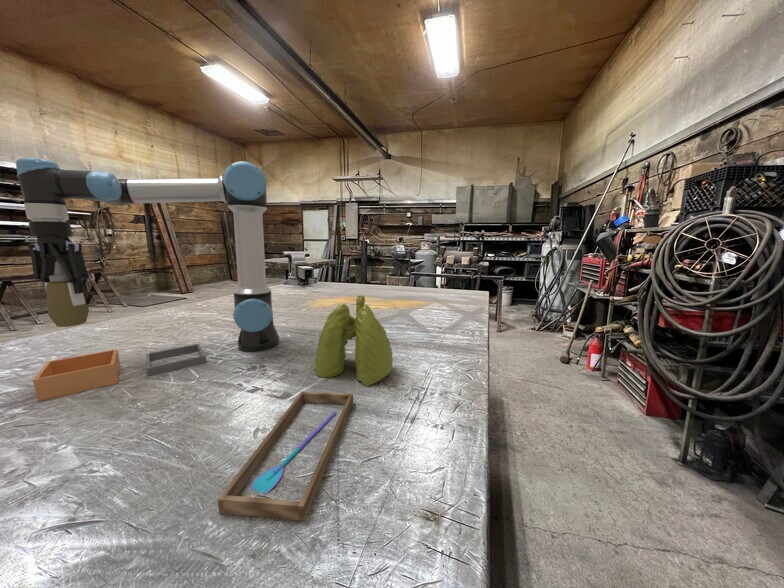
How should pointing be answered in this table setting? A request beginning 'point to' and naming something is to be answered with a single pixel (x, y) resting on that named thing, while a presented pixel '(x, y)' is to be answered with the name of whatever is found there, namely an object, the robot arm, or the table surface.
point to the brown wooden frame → (262, 506)
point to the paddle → (282, 465)
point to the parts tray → (177, 364)
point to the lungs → (369, 342)
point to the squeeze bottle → (63, 301)
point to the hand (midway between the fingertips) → (67, 304)
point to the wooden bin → (77, 374)
